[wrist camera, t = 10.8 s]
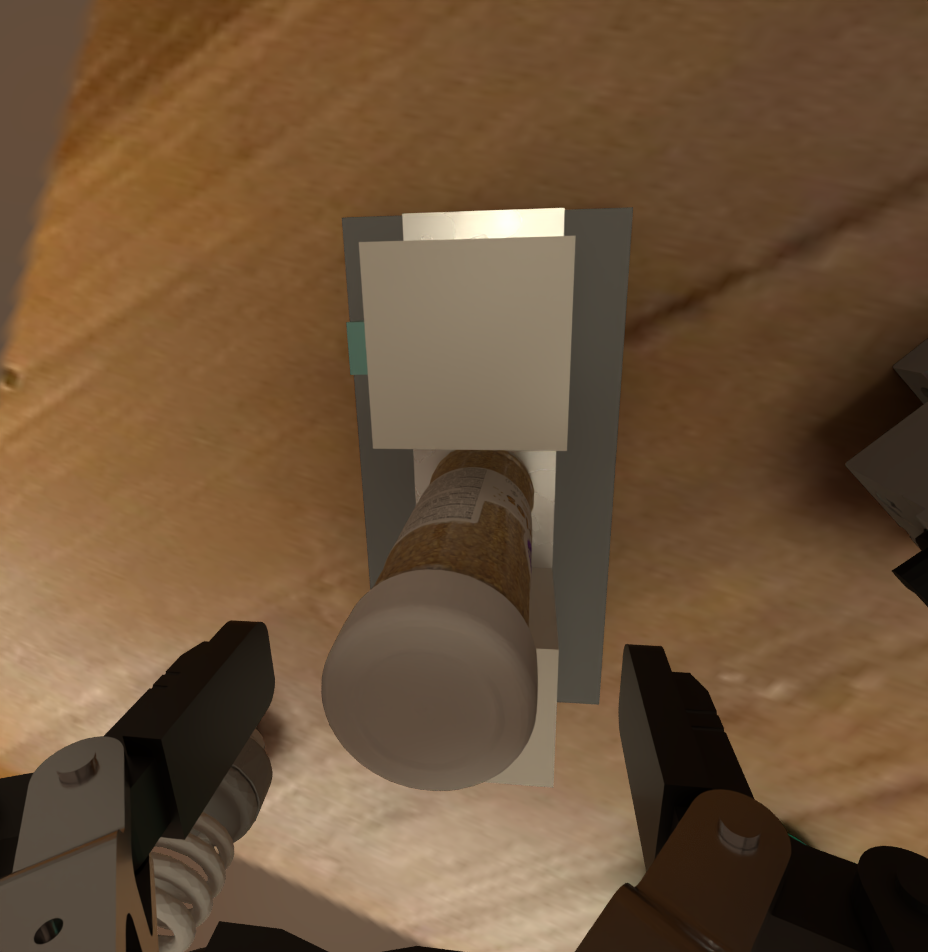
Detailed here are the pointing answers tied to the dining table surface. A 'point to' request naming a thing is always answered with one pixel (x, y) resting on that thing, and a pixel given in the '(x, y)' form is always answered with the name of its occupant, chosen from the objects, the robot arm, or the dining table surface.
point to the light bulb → (209, 847)
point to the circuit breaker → (904, 471)
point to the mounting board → (577, 470)
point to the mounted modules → (475, 383)
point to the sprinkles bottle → (444, 635)
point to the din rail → (535, 462)
